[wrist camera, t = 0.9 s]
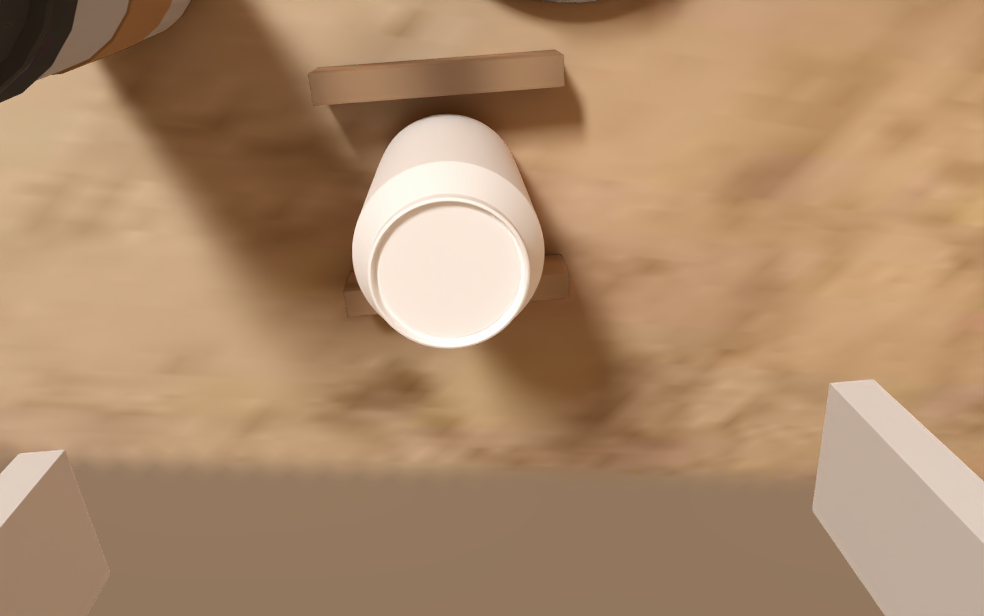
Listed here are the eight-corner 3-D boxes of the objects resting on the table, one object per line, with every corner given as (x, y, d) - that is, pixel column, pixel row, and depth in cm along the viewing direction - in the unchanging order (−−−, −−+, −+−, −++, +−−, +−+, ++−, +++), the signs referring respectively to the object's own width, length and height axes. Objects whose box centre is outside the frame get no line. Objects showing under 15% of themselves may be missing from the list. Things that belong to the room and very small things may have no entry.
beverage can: (501, 255, 34) (527, 380, 23) (370, 232, 34) (333, 352, 23) (529, 123, 32) (573, 196, 21) (389, 96, 31) (358, 156, 20)
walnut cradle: (353, 295, 35) (347, 316, 32) (318, 67, 30) (307, 74, 28) (561, 277, 35) (569, 298, 33) (555, 49, 31) (563, 54, 28)
